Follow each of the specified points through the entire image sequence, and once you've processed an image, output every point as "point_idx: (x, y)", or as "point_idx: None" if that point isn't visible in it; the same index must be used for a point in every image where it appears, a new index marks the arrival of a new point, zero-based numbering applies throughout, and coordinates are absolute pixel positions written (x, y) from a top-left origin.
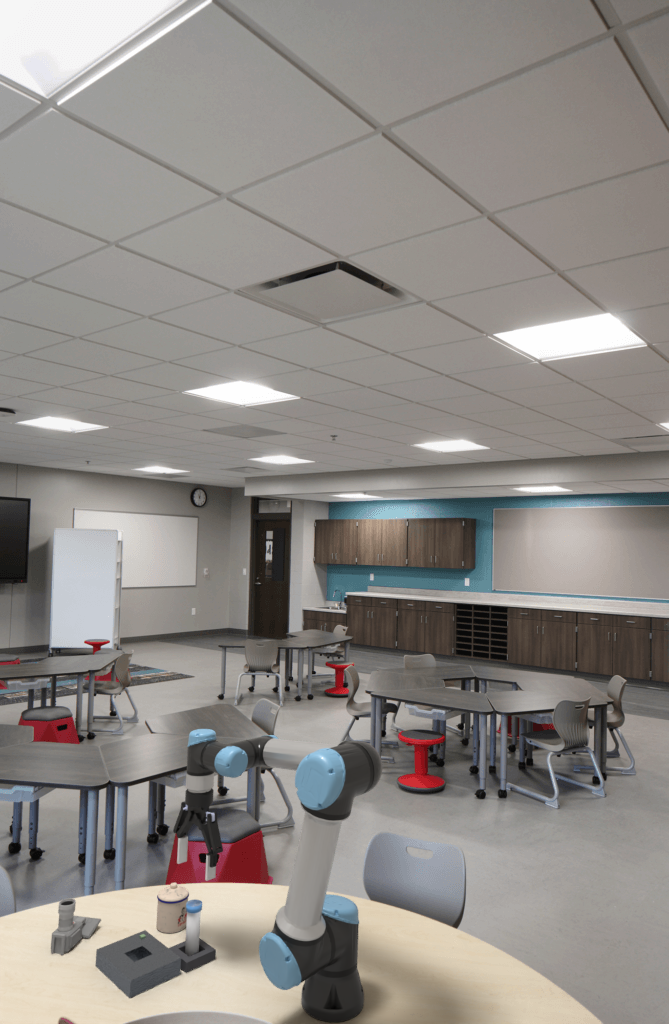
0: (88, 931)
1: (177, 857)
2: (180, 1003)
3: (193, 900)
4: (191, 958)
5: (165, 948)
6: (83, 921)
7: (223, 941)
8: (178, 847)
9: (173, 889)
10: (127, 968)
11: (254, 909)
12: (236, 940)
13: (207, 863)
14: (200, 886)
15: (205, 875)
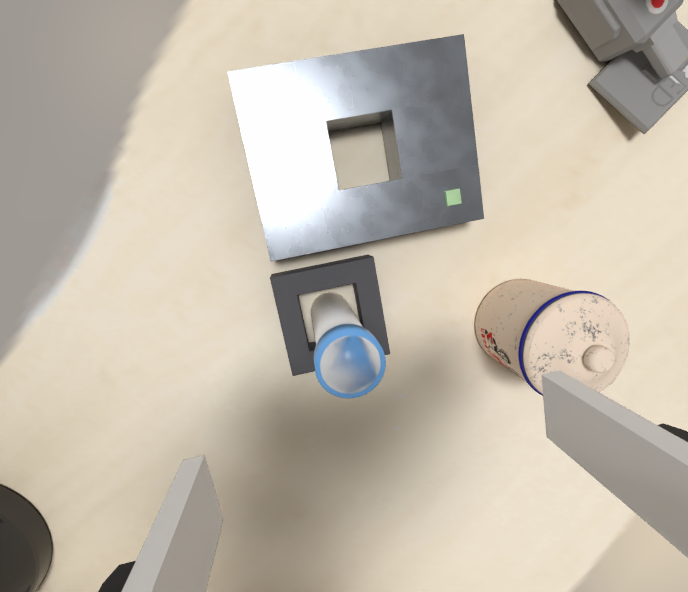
0: (614, 84)
1: (586, 387)
2: (143, 209)
3: (376, 370)
4: (284, 298)
5: (347, 237)
6: (658, 64)
7: (363, 415)
8: (649, 429)
9: (580, 350)
10: (301, 87)
11: (462, 539)
12: (349, 446)
13: (134, 564)
14: None
15: (193, 475)
